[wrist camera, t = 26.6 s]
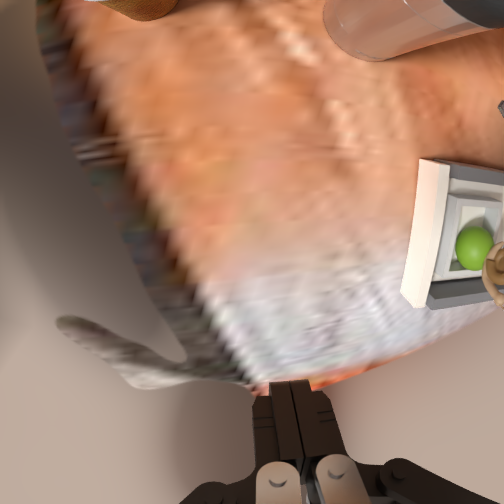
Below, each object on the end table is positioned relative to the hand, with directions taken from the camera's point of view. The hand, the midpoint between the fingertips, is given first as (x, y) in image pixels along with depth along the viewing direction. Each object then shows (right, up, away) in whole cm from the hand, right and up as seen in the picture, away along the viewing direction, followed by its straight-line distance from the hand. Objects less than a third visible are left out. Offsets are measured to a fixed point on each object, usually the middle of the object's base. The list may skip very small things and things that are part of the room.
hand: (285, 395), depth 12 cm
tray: (+26, +9, +22) cm, 35 cm away
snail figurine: (+25, +7, +22) cm, 34 cm away
